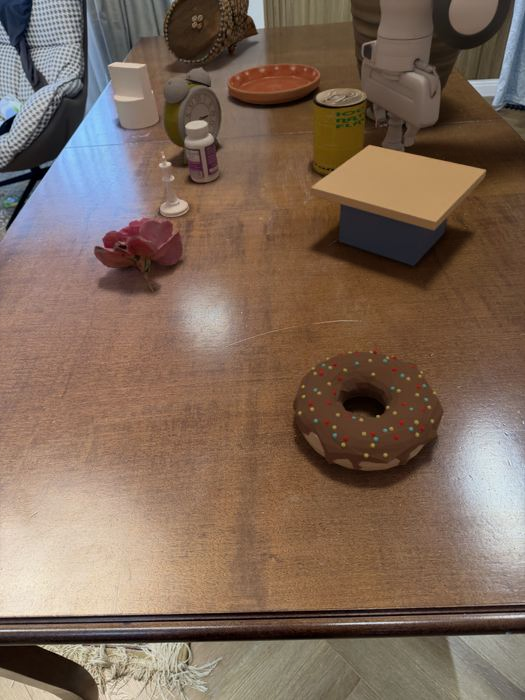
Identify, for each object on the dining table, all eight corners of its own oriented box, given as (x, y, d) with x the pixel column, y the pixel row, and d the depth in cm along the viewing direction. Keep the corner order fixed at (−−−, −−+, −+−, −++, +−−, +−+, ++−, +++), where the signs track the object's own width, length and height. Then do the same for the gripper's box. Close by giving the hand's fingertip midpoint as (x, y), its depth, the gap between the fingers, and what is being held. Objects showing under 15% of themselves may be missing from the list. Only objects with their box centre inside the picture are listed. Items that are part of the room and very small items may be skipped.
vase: (480, 126, 104) (508, -53, 80) (363, 147, 107) (358, -20, 83) (448, 74, 119) (465, -89, 96) (347, 94, 122) (339, -60, 99)
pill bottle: (214, 168, 97) (206, 116, 90) (223, 179, 93) (215, 125, 86) (187, 174, 96) (177, 122, 89) (195, 186, 92) (185, 132, 85)
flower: (123, 277, 78) (133, 211, 76) (179, 291, 76) (191, 224, 74) (75, 277, 68) (86, 201, 66) (140, 294, 65) (152, 216, 63)
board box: (472, 229, 75) (486, 169, 68) (424, 284, 66) (435, 221, 60) (365, 200, 84) (369, 144, 77) (310, 245, 75) (310, 187, 69)
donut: (362, 509, 44) (366, 479, 41) (269, 414, 52) (266, 382, 49) (468, 427, 50) (479, 393, 46) (368, 352, 58) (372, 319, 54)
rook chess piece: (393, 159, 94) (398, 114, 88) (375, 152, 96) (379, 108, 91) (409, 151, 96) (415, 107, 90) (391, 145, 98) (395, 101, 93)
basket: (178, -6, 162) (136, -5, 134) (236, -50, 153) (204, -59, 125) (216, 68, 172) (184, 83, 144) (273, 31, 163) (251, 39, 135)
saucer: (215, 107, 122) (212, 90, 119) (247, 77, 137) (245, 62, 134) (306, 110, 115) (306, 93, 113) (329, 79, 130) (329, 63, 128)
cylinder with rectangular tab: (112, 126, 117) (97, 70, 109) (136, 113, 123) (123, 58, 114) (143, 131, 114) (129, 72, 105) (166, 116, 119) (155, 60, 111)
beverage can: (370, 160, 94) (375, 91, 86) (348, 180, 89) (351, 109, 81) (328, 152, 98) (329, 85, 90) (304, 170, 93) (303, 102, 85)
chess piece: (162, 219, 84) (148, 161, 77) (158, 206, 87) (144, 149, 80) (191, 213, 85) (180, 155, 78) (186, 200, 88) (175, 143, 81)
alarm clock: (188, 168, 98) (173, 84, 87) (164, 161, 101) (146, 79, 90) (227, 146, 104) (217, 65, 94) (202, 140, 107) (190, 62, 97)
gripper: (457, 64, 78) (441, 152, 88) (387, 37, 92) (380, 116, 102) (421, 71, 77) (409, 160, 86) (356, 43, 91) (352, 122, 100)
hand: (393, 136), depth 94 cm, fingers open, 8 cm apart
